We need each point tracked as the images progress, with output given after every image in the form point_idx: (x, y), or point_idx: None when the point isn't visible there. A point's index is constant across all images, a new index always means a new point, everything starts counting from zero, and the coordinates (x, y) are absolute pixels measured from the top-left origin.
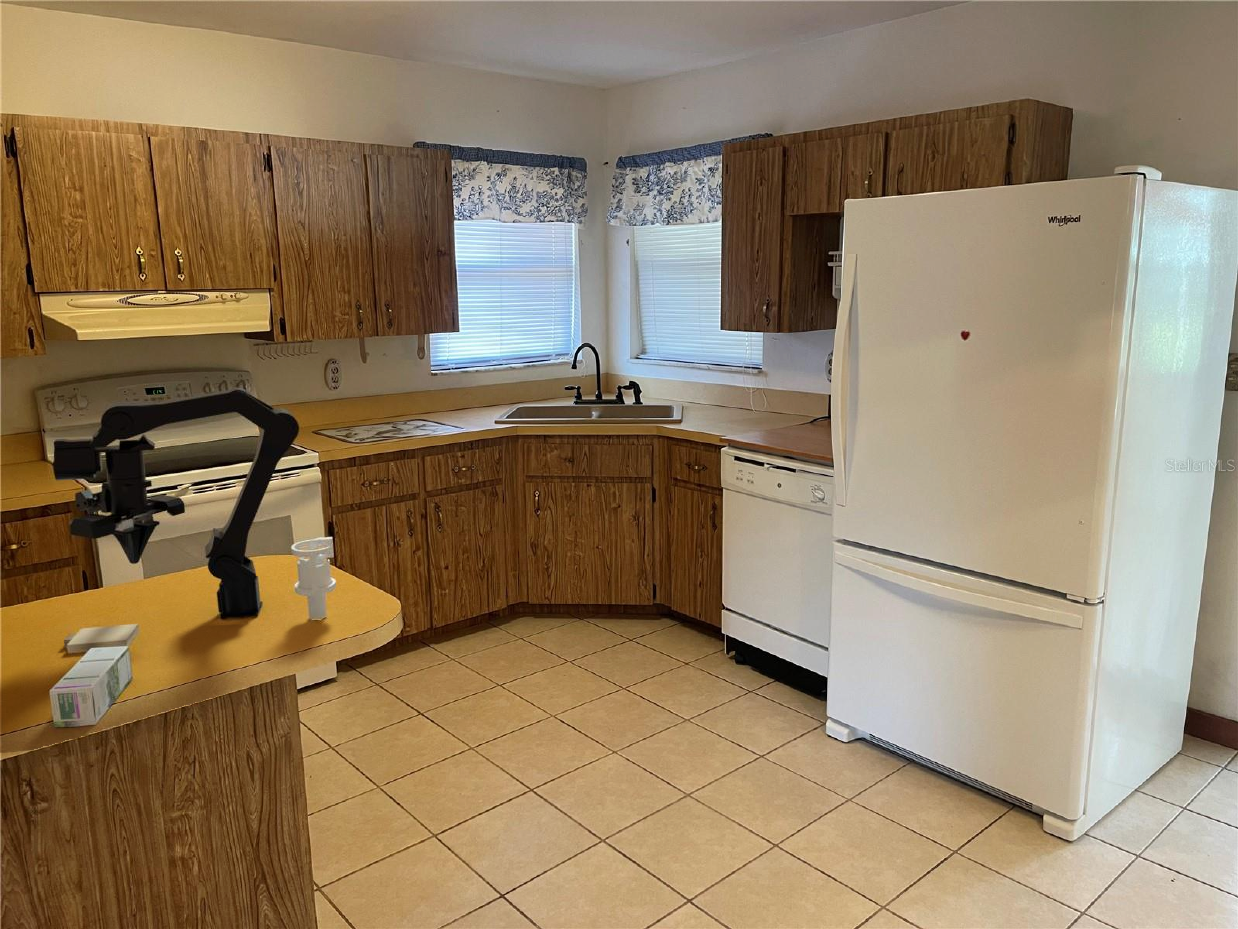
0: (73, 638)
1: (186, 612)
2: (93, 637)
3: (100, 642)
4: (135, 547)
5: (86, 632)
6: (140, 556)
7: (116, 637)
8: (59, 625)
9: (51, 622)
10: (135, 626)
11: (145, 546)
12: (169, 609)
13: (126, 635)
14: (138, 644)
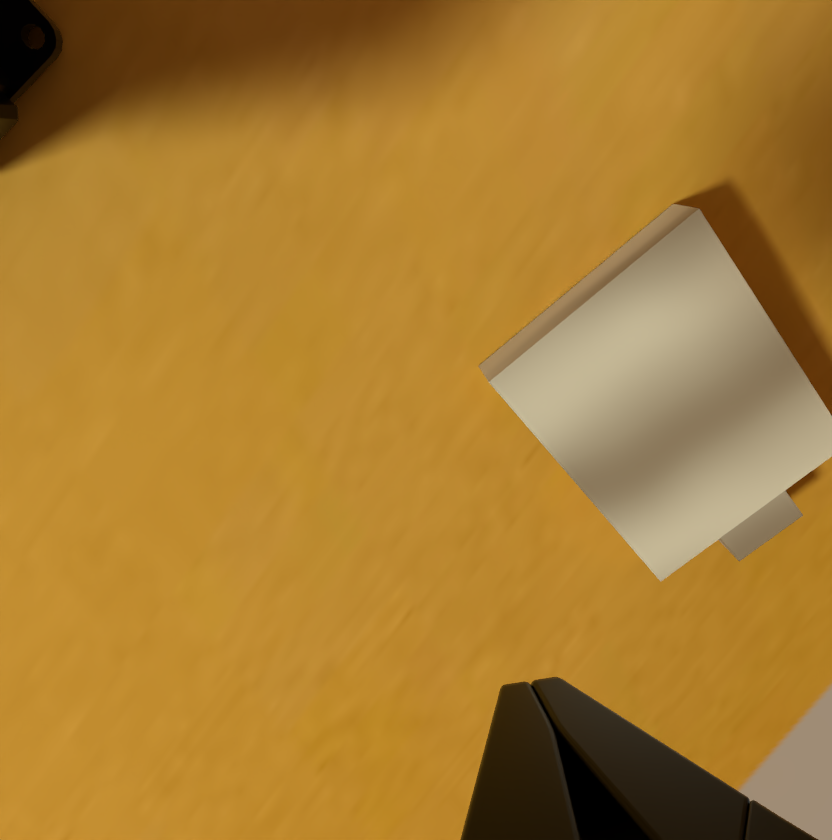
0: (773, 494)
1: (134, 393)
2: (732, 417)
3: (769, 320)
4: (717, 812)
5: (689, 513)
6: (504, 723)
7: (690, 300)
8: None
9: None
10: (526, 356)
11: (470, 818)
12: (169, 520)
13: (648, 274)
14: (606, 198)
